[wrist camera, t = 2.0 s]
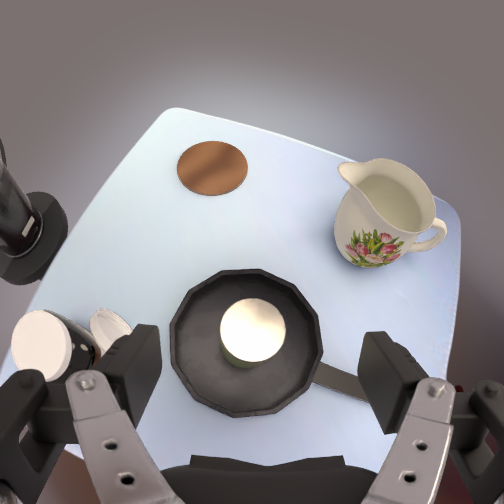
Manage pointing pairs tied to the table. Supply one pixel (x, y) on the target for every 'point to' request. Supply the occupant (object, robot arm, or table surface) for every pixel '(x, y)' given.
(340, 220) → the pitcher
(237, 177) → the coaster
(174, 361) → the pan
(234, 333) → the tin
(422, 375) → the robot arm
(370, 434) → the table surface
